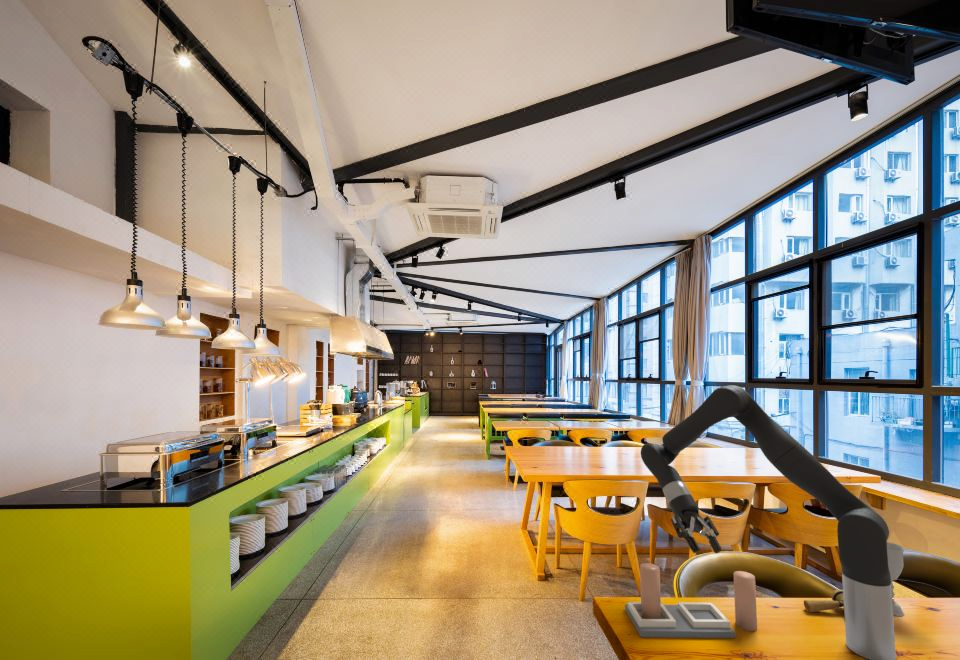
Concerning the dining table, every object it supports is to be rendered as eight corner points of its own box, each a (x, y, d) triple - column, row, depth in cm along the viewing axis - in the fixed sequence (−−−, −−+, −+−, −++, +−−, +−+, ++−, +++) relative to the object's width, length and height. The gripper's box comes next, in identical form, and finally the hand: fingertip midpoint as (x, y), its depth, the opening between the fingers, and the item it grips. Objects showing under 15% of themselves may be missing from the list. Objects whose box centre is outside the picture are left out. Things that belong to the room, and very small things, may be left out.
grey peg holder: (709, 610, 128) (707, 557, 129) (735, 637, 115) (733, 578, 116) (625, 609, 128) (623, 556, 129) (641, 637, 115) (639, 578, 116)
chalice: (883, 615, 126) (878, 548, 127) (870, 603, 132) (866, 539, 134) (915, 619, 124) (910, 551, 125) (900, 607, 130) (896, 542, 132)
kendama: (819, 626, 123) (889, 619, 122) (812, 600, 125) (880, 593, 124) (803, 616, 131) (868, 610, 129) (796, 591, 132) (860, 585, 131)
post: (742, 618, 124) (740, 569, 125) (761, 628, 119) (759, 577, 121) (731, 623, 122) (729, 573, 123) (749, 633, 117) (747, 581, 118)
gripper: (670, 492, 137) (698, 545, 125) (704, 494, 142) (734, 545, 130) (655, 504, 141) (681, 558, 129) (689, 506, 146) (717, 557, 134)
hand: (708, 551), depth 130 cm, fingers open, 8 cm apart
